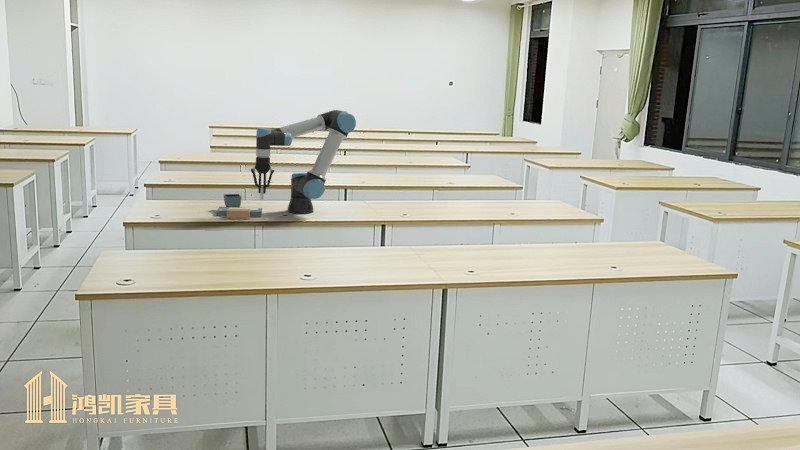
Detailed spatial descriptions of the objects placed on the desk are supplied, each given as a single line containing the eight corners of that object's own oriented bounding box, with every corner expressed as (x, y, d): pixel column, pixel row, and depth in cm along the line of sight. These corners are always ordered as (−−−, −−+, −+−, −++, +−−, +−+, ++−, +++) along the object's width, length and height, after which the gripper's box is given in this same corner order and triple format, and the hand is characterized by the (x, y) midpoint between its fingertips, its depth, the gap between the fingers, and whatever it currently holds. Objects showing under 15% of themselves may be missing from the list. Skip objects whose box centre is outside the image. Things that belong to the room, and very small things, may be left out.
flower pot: (223, 209, 393) (223, 194, 391) (238, 208, 397) (238, 193, 395) (226, 212, 385) (226, 196, 384) (241, 211, 389) (241, 196, 387)
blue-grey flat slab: (262, 213, 388) (262, 207, 388) (260, 217, 378) (261, 211, 377) (219, 212, 385) (219, 206, 384) (216, 215, 374) (216, 210, 373)
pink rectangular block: (249, 216, 376) (250, 208, 375) (249, 219, 370) (249, 210, 369) (227, 216, 374) (227, 207, 373) (226, 218, 369) (226, 210, 368)
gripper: (275, 156, 370) (274, 198, 375) (251, 155, 368) (250, 197, 373) (274, 158, 363) (273, 201, 368) (250, 156, 361) (249, 200, 366)
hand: (261, 199), depth 370 cm, fingers closed
